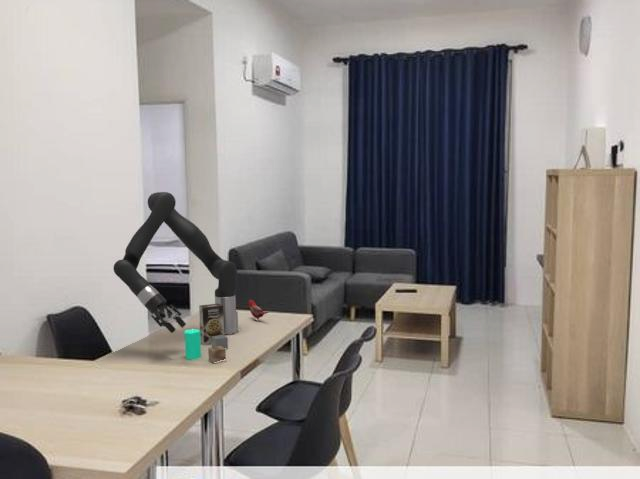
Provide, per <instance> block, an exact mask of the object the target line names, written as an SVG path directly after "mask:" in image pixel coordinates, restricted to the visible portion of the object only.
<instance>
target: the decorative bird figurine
mask: <svg viewBox="0 0 640 479" xmlns="http://www.w3.org/2000/svg"><path fill="white" fill-rule="evenodd" d="M248 306H249V311H250V313H251V315H252V316H253V317H254V319H258V320H260V318H263V316H265V315H266V314H268V313H269V311H263V309H262V308H261V307H260V306H258V305H257V304H256V302H255V301H254V300H253V299H249V301H248Z"/></svg>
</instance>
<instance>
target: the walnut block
mask: <svg viewBox="0 0 640 479" xmlns="http://www.w3.org/2000/svg"><path fill="white" fill-rule="evenodd" d="M207 350H208V352H207V353H208V361H209V360H210V361H211V363H212V362H213V363H214V362H217V361H220V360H224V359H226V355H227V354H226V349H225V348H223V347H221V346H217V347H212V346H211V347H208V348H207ZM226 360H227V359H226ZM210 361H209V362H210ZM213 363H212V364H213Z"/></svg>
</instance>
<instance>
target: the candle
mask: <svg viewBox="0 0 640 479" xmlns="http://www.w3.org/2000/svg"><path fill="white" fill-rule="evenodd" d="M201 344H202V343H201V339H200V329H198V328H197V329H195V328H191V329H186V330H184V347H185V348H184V349H185V359H186V360H197V359H201V358H202V345H201Z"/></svg>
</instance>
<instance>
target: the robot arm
mask: <svg viewBox="0 0 640 479" xmlns="http://www.w3.org/2000/svg"><path fill="white" fill-rule="evenodd" d="M176 201H177V200H176V198H175V196H174V195H173V193H170V192H168V191H157V192H154V193H151V194H150V195H149V196H148V198H147V207H148V208H149V210H150V215H148V217H147V219H146V220H145V221H144V223H143V224H141V226H140V227H139V228H138V230H136V232H135V233H134V234H133V236H132V237H131V239H130V240H129V243H128V244H127V246H126V248H125V254H124V256H123V258H122V259H118V260H117V261H116V262H115V263H114V265H113V273H114V274H115V275H116V276H117V277H118V278H119V279H120V280H121V281H122V282H123V283H124V284H125V285H126V286H127V287H128V288H129V290H130V292H132V293H133V294H134V295H135V296H136V298H137V299H138V300H139V302H140V303H141V304H142V305H143V307H144V308H146V309H147V311H149V312H150V314H151V315H150V317H151V318H152V319H153V320H154V321H155V323H156V324H157V325H158V326H159V327H163V328H164V327H165V328H166V329H167V330H168V331H169V333H170V334H173V333H175V331H176V328H175V327H174V325H173V324H172V323H171V322H170V321H169V320H173V321H175V323H177V324H178V325H179V327H180V328H185V326H187V323H186V322H185V321H184V319H182V318H181V317H182V316H181V315H182V313H181V312H180V311H179V310H178V308H176V307H175V305H173V304H170V305H169V306H168V305H167V299H166V298H164V296H163V295H162V294H161V293H160V292H159V291H158V290H157V289H156V288H155V287H154V286H152V285H151V284H150V283H149V281H148V280H147V278H145V277H144V276H142V275H141V274H140V272H138V270H137V269H138V267H139V264H140V261H141V259H142V257H143V255H144V253H145V251H146V250H147V248H148V247H149V244H150V243H151V242H152V239H153V238H154V236H155V235H156V233H157V231H158V230H159V228H160V227H161V226H162V225H163V224H166V226H167V227H168V228H169V229H170V230H171V231H172V232H173V234H174V235H175V236H176V237H177V238H178V239H179V241H181V242H182V244H183V245H184V246H186V248H187V249H189V251H190V252H192V254H194V256H195V257H196V258H198V260H200V261H201V262H202V264H203V265H204V266H205V267H206V269H207V270H208V271H209V273H210V274H211V275H212V277H214V278H215V279H216V280H218V287H217V288H216V289H215V290H214V304H218V303H219V304H221V305H223V315H224V336H226V335H225V334H229V335H232V334H231V333H234V334H236V333H239V316H238V315H239V314H238V313H239V312H238V311H237V308H236V307H237V301H236V291H237V289H238V270H237V266H236V264H235V263H234V262H233V261H229V260H226V259H223V258H222V257H220V256H219V255H218V254H217V253H216V252H215V251H214V250H213V248H212V246H211V244H210V240H208V238H207V236H206V235H205V233H204V232H202V230H201V229H200V228H199V227H198V226H197V225H196V224H195V223H193V222H192V221H191V220H189V219H187V218H186V217H185V216H182V214H180V213H179V212H178V211H177V210H176V204H177V203H176ZM235 332H236V333H235Z"/></svg>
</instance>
